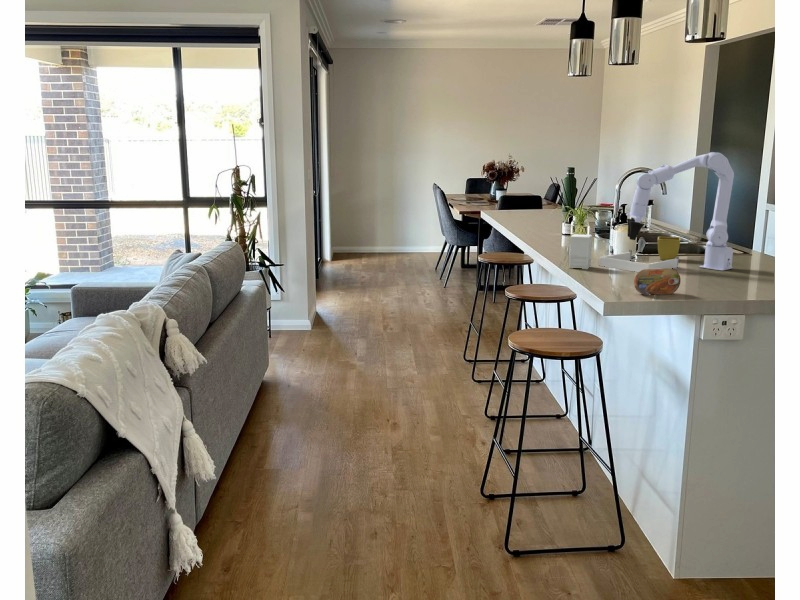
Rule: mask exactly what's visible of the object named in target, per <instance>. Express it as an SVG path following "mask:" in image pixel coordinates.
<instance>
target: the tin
mask: <svg viewBox="0 0 800 600" xmlns="http://www.w3.org/2000/svg"><path fill="white" fill-rule="evenodd" d="M636 273H637V274H635V277H634V281H633V285H634V288H635V290H636V291H637V292H638V293H639V294H642V295H644V296H650V295H649V294H666V295H671V294H673V293H675V292H676V291H678V289H679V288H680V285H681V279H682V278H681V276H680V274H679V272H678V270H675V268H673V269H669V268H661V269H644V270H641V271H640V272H636Z"/></svg>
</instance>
